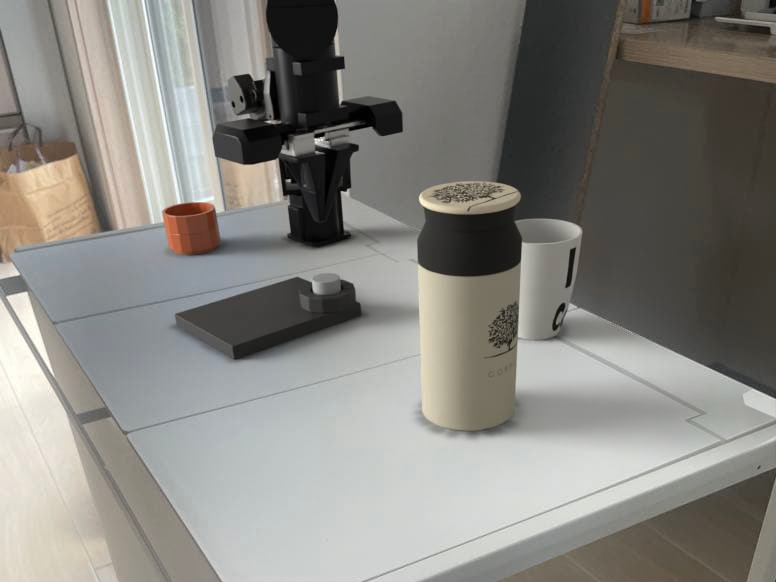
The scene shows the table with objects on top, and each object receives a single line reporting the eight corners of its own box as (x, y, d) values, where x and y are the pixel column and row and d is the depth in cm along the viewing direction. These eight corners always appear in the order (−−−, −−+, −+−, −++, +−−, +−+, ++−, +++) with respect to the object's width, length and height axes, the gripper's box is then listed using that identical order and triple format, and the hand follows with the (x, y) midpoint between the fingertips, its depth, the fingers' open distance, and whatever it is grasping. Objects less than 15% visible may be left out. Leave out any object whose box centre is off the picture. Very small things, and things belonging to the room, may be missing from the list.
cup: (572, 348, 82) (581, 245, 76) (489, 344, 84) (492, 242, 78) (575, 316, 88) (583, 219, 82) (498, 313, 90) (501, 217, 84)
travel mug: (403, 408, 73) (394, 193, 63) (474, 382, 77) (476, 174, 66) (461, 444, 68) (461, 215, 57) (533, 414, 72) (546, 193, 61)
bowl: (205, 236, 116) (198, 199, 113) (230, 247, 112) (224, 208, 109) (160, 248, 113) (152, 209, 110) (185, 259, 109) (177, 219, 106)
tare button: (330, 284, 91) (328, 270, 91) (346, 291, 90) (345, 277, 89) (307, 292, 90) (306, 277, 89) (324, 299, 88) (322, 284, 87)
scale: (302, 287, 99) (299, 261, 97) (367, 315, 91) (365, 288, 89) (176, 326, 91) (171, 299, 89) (236, 361, 83) (231, 332, 81)
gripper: (333, 29, 86) (345, 189, 95) (168, 50, 76) (200, 225, 86) (403, 35, 79) (409, 207, 88) (232, 59, 69) (258, 249, 79)
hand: (320, 221), depth 85 cm, fingers closed
